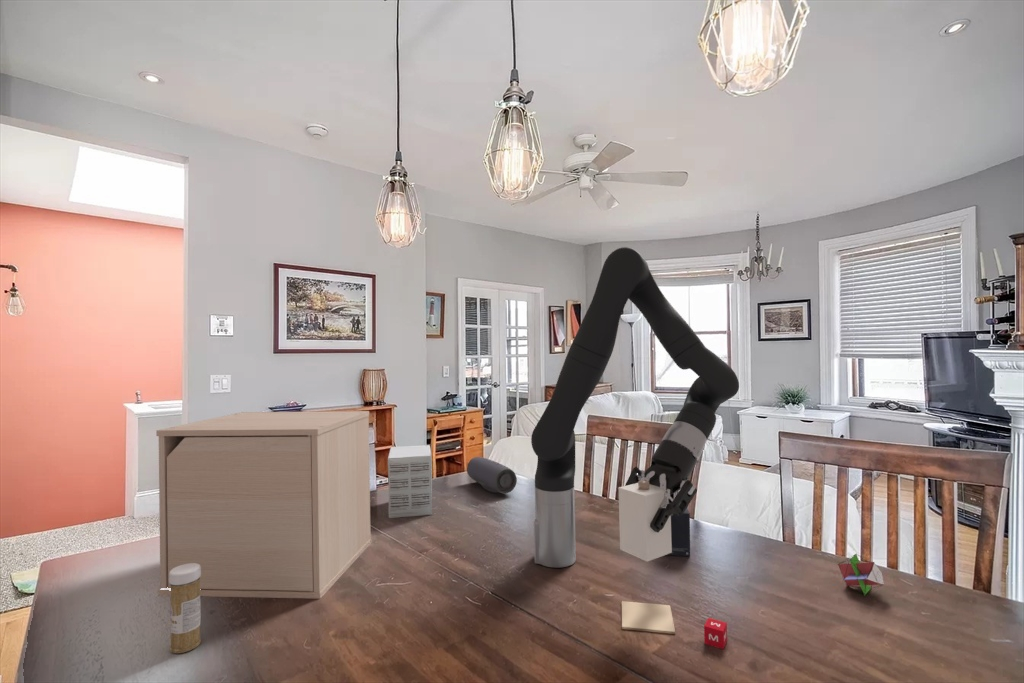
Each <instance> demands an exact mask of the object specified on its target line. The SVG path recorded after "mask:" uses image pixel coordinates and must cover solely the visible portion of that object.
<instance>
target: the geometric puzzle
mask: <svg viewBox="0 0 1024 683" xmlns="http://www.w3.org/2000/svg"><path fill="white" fill-rule="evenodd" d="M859 558H861V559H862V560H864V562H861V561H860V560H859ZM845 562H848V563H845ZM837 565H838V567H839V570H840V572H841V573H840V574H841V576H842V578H843V581H844V583H845V585H846V587H849V588H851V589H852V588H855V591H856V592H858V593H859V594H863V596H866V595H867V594H869V591H870V590H872V589H874V588H875V589H876V588H877V589H879V588H880V587H882V586H884V585H885V583H884V577H883V576H884V574H883V572H882V571H881V569H879V567H878V565H877V564H876V563H875V561H869V562H868V561H867V559H866V560H865V559H864V557H861V555H859V554H857V553H855V554H854V555H852V556H851V557H848V558H847V559H845V560H843V561H842V562H840V563H838V564H837ZM857 586H859V587H860V588H861V590H862V592H863V593H861V591H859V590H858V589H856V588H857ZM872 586H874V587H872ZM872 592H873V590H872V591H870V593H872Z"/></svg>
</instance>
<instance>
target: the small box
mask: <svg viewBox="0 0 1024 683" xmlns="http://www.w3.org/2000/svg"><path fill="white" fill-rule="evenodd" d="M680 504H681V503H680ZM680 504H679V505H680ZM690 516H691V515H690V511H689V509H688V507H687V508H686V510H685V511H684V513H683V514H682V515H680V516H679V515H677V514H673V515H671V543H672V553H669V554H667V555H666V556H677V557H678V556H679V557H691V519H690V518H691V517H690Z"/></svg>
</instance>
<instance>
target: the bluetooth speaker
mask: <svg viewBox="0 0 1024 683" xmlns="http://www.w3.org/2000/svg"><path fill="white" fill-rule="evenodd" d="M466 472H467V475H468V477H470V478H471V479H472V480H473V481H475V482H476V483H478V484H479V485H481V487H482V488H483V489H485V490H487V491H489V492H491V493H493V494H496V493H499V494H508V493H511V492H512V491H514V489H515V487H516V485H517V482H518V479H517V475H516V473H515V471H514V470H513V469H511V468H509V467H507V466H506V465H503V464H502V463H500V462H497V461H494V460H491V459H490V458H489V459H488V458H486V457H482V456H475V457H472V458H471V459H470V460H469V462H468V463H467V466H466Z"/></svg>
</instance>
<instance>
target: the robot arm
mask: <svg viewBox="0 0 1024 683" xmlns="http://www.w3.org/2000/svg"><path fill="white" fill-rule="evenodd" d="M600 272H601V273H600V274H599V278H598V282H597V284H596V288H595V292H594V294H593V296H592V299H591V301H590V305H589V306H588V309H587V311H586V312H585V314H584V316H583V319H582V321H581V323H580V326H579V328H578V330H577V331H576V334H575V337H574V338H573V340H572V343H571V345H570V347H569V349H568V352H567V354H566V357H565V359H564V361H563V365H562V367H561V370H560V372H559V375H558V377H557V380H556V384H555V387H554V389H553V392H552V396H551V397H550V400H549V402H548V404H547V406H546V407H545V410H544V411H543V412H542V415H541V416H540V418H539V420H538V422H537V423H536V425H535V427H534V428H533V431H532V432H531V437H530V438H531V439H530V440H531V441H530V444H531V448H532V450H533V453H534V454H535V455H536V456H537V464H536V470H535V474H534V497H535V498H534V499H535V502H534V504H535V519H534V521H533V536H534V539H533V543H534V544H533V545H534V546H533V547H534V551H533V552H534V564H538V565H540V566H541V565H542V566H544V567H547V568H556V569H558V568H565V567H569V566H572V565H574V564H575V563H576V561H577V557H576V556H577V555H576V553H577V551H576V514H575V512H576V510H575V509H576V508H575V507H576V506H575V503H576V502H575V500H576V499H575V476H576V434H575V426H576V424H577V421H578V419H579V417H580V414H581V412H582V410H583V407H584V406H585V405H586V403H587V401H588V400H589V398H590V397H591V396H592V394H593V392H594V390H595V389H596V387H597V385H598V384H599V382H600V380H601V378H602V376H603V374H604V372H605V370H606V368H607V366H608V363H609V361H610V358H611V357H612V355H613V354H612V353H613V352H614V348H615V345H616V339H617V335H618V329H619V325H620V320H621V316H622V313H623V310H624V308H625V306H626V305H627V302H628V301H631V303H632V304H634V306H636V308H637V310H639V312H640V314H642V316H643V317H644V318H645V320H646V322H647V323H648V324H649V327H650V328H651V330H652V331H653V334H654V335H655V337H656V338H657V340H658V341H659V342H660V344H661V346H662V348H664V350H665V351H666V352H667V354H668V356H670V358H671V360H673V362H674V363H675V364H676V366H677V367H678V368H680V369H681V370H689V369H690V370H691V371H692V372H694V374H695V375H697V376H698V377H697V378H696V379H695V380H694V381H693V383H692V384H691V386H690V388H689V389H688V391H687V394H686V397H685V399H684V402H683V406H682V408H681V409H680V411H679V412H678V414H677V416H676V417H675V419H674V421H673V422H672V425H671V426H670V427H669V428H668V429H667V430H666V432H665V434H664V436H663V437H662V439H661V441H660V443H659V445H658V446H657V448H656V450H655V451H654V453H653V455H652V456H651V463H650V465H649V467H648V468H647V469H646V470H641V469H639V467H638V466H635V467H633V468H632V471H631V473H630V475H629V477H628V478H627V481H626V482H625V485H624V486H627V485H631V484H635V483H638V481H641V480H645V481H649V484H651V485H654V486H658V487H660V489H664V490H667V489H670V495H669V494H668V492H667V491H665V493H664V499H663V500H662V502H661V507H662V508H659V509H658V510H657V512H656V514H655V516H654V518H653V520H652V521H651V523H650V527H651V528H652V529H653V530H654V531H655V532H659V531H660V530H662V529H663V527H664V525H665V524H666V522H667V520H668V518H669V516H671V515H673V514H677V515H679V516H680V515H682V514H683V513H684V511H685V510H686V508H687V509H688V506H689V505H690V503H691V502H692V500H693V499H694V497H695V495H696V494H697V492H698V489H697V487H696V486H695V485H694V483H693V482H692V480H689V478H690V476H691V474H692V472H693V470H694V468H695V466H696V465H697V463H698V461H699V459H700V457H701V455H702V454H703V451H704V448H705V446H706V444H707V441H708V439H709V437H710V435H711V433H712V431H713V430H714V428H715V426H716V422H717V417H716V414H715V413H716V411H718V408H719V407H720V406H721V404H723V403H725V402H726V401H729V400H730V399H731V398H733V397H735V396H736V395H737V393H738V392H739V388H740V382H739V378H738V376H737V375H736V372H735V371H734V369H732V367H731V366H730V365H729V364H728V363H726V362H725V360H723V359H722V358H720V356H718V355H717V354H716V353H714V351H711V350H710V349H709V348H707V347H706V346H705V344H704V343H703V342H702V341H701V339H700V338H699V336H698V335H697V334H696V333H695V331H694V330H693V329H692V327H691V326H690V325H689V323H688V322H687V321H686V320H685V318H684V317H682V315H681V314H680V313H679V312H678V311H677V310H676V308H674V307H673V305H672V304H671V303H670V302H669V301H668V298H666V297H665V295H664V293H663V292H662V291H661V289H660V288H659V286H658V283H657V282H656V280H655V278H654V277H653V276H654V275H653V274H652V272H651V270H650V269H649V265H648V263H647V261H646V259H645V258H644V257H643V255H642V254H641V253H640V252H639V251H637V250H635V249H634V248H632V247H628V246H623V247H622V246H621V247H618V248H616V249H615V250H614V251H612V252H610V254H609V255H608V256H607V257H606V259H605V261H604V263H603V265H602V268H601V271H600ZM676 493H677V494H676ZM668 501H669V504H668ZM680 503H681V504H680ZM679 504H680V505H679Z"/></svg>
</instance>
